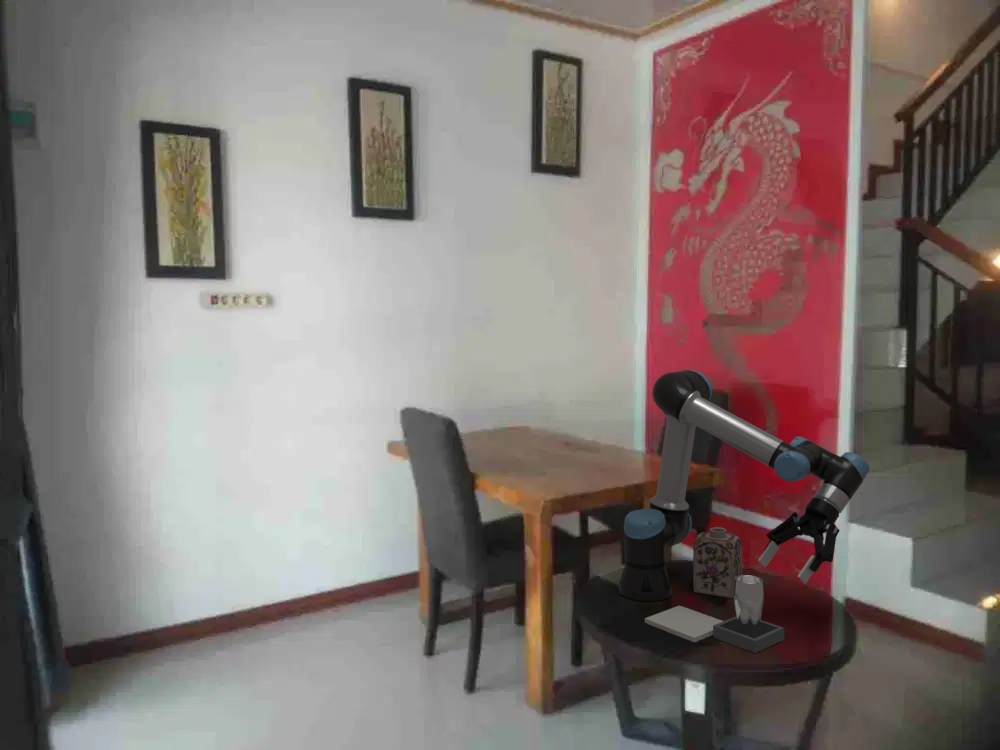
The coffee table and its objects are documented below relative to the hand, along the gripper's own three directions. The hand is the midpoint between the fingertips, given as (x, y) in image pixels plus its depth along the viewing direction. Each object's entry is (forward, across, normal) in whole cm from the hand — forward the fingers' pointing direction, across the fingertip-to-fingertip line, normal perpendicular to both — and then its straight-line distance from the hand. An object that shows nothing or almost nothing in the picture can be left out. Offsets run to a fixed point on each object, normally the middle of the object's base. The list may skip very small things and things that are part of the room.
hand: (780, 571), depth 186 cm
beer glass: (+18, 0, -4) cm, 18 cm away
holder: (+18, 0, -4) cm, 18 cm away
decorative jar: (+7, +32, -15) cm, 36 cm away
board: (+24, +14, +2) cm, 28 cm away
